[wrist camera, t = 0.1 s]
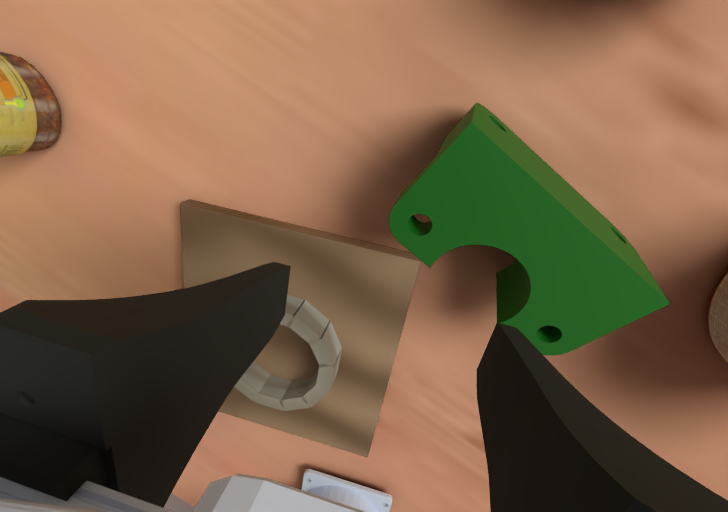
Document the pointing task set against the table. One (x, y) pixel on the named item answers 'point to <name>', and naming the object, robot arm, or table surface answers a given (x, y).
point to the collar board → (330, 288)
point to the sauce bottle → (25, 108)
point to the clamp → (526, 236)
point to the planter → (719, 318)
